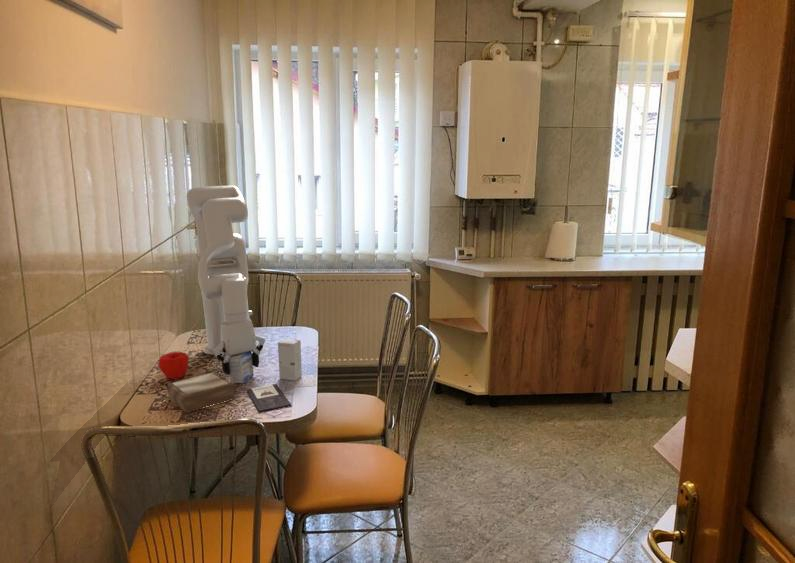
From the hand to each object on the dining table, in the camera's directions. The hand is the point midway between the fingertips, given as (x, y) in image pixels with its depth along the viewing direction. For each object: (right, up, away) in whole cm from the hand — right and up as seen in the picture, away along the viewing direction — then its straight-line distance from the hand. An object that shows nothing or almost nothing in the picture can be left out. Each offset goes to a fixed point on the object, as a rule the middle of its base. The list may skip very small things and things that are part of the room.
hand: (241, 369), depth 188 cm
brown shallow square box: (-8, -6, -14) cm, 18 cm away
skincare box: (+16, -3, +1) cm, 16 cm away
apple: (-22, -3, +4) cm, 23 cm away
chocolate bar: (+12, -7, -15) cm, 20 cm away
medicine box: (0, -3, +1) cm, 4 cm away
